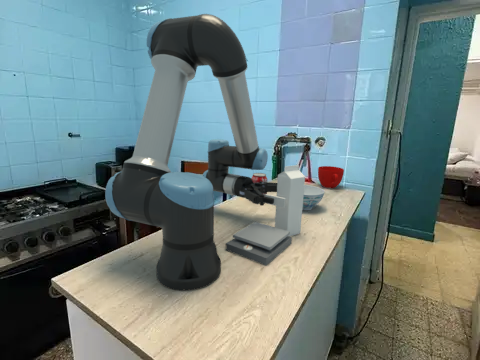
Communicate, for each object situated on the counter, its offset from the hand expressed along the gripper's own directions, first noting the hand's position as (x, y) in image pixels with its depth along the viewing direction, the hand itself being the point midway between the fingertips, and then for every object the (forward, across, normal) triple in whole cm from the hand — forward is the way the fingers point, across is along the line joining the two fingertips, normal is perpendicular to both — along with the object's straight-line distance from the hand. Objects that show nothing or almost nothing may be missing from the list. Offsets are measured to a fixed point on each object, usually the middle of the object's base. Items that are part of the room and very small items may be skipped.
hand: (294, 197), depth 84 cm
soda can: (-25, -21, -12) cm, 35 cm away
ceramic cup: (-7, -64, -12) cm, 65 cm away
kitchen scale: (-4, +13, -12) cm, 18 cm away
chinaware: (-6, -26, -12) cm, 29 cm away
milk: (-1, 0, -12) cm, 12 cm away
